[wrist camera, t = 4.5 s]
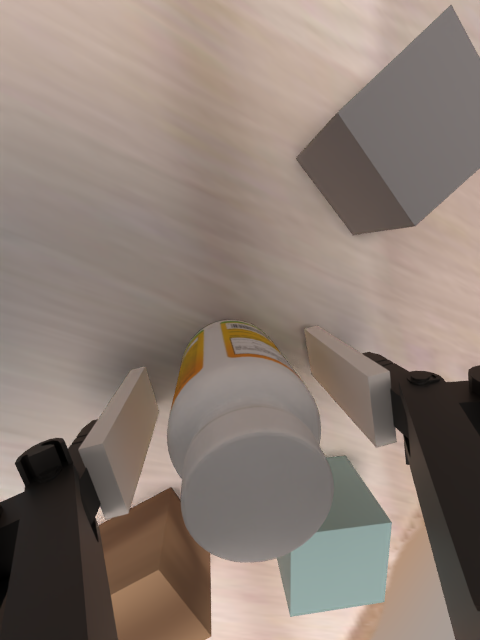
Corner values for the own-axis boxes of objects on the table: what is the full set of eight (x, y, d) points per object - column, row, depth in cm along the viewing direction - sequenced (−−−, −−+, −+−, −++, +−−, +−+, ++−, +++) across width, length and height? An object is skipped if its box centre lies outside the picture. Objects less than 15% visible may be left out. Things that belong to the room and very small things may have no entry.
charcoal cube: (295, 159, 15) (337, 112, 10) (370, 87, 15) (451, 4, 10) (352, 235, 16) (415, 226, 11) (423, 170, 16) (519, 132, 11)
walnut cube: (99, 524, 18) (61, 621, 13) (171, 486, 18) (158, 569, 13) (142, 576, 19) (121, 683, 15) (209, 541, 19) (211, 636, 15)
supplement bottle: (204, 420, 17) (202, 616, 8) (166, 339, 16) (109, 459, 7) (288, 386, 18) (384, 538, 8) (257, 303, 16) (327, 369, 7)
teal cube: (269, 462, 19) (290, 535, 14) (345, 454, 19) (391, 522, 14) (269, 528, 20) (290, 616, 15) (341, 519, 20) (384, 602, 15)
